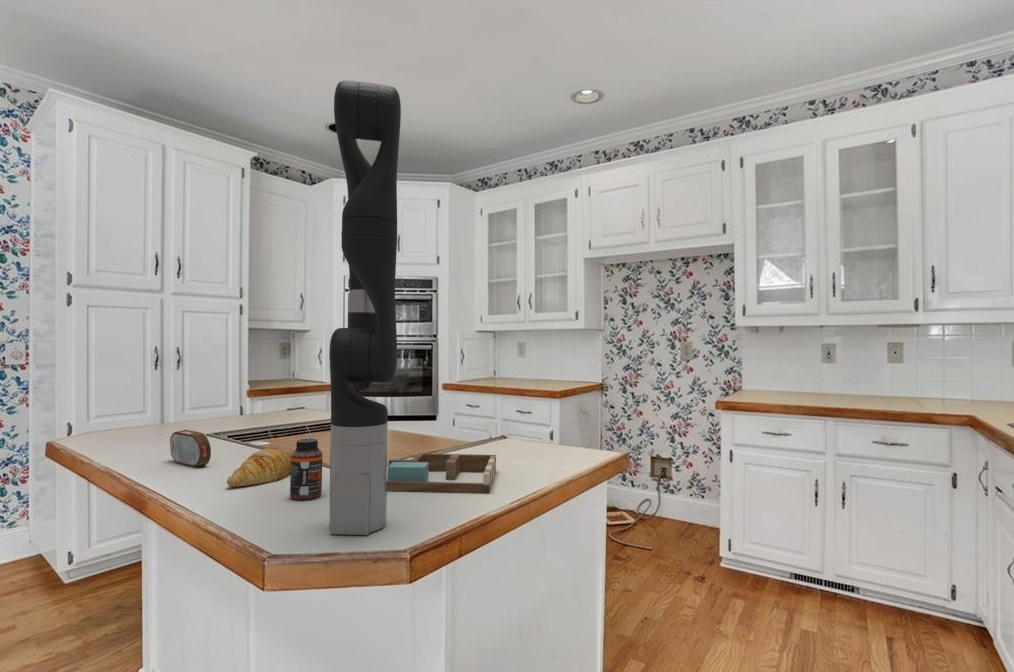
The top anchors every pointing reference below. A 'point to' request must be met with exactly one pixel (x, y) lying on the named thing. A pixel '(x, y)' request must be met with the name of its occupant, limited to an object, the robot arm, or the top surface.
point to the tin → (190, 448)
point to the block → (408, 471)
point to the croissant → (261, 468)
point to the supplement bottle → (306, 470)
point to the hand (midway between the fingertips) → (364, 390)
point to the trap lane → (450, 473)
